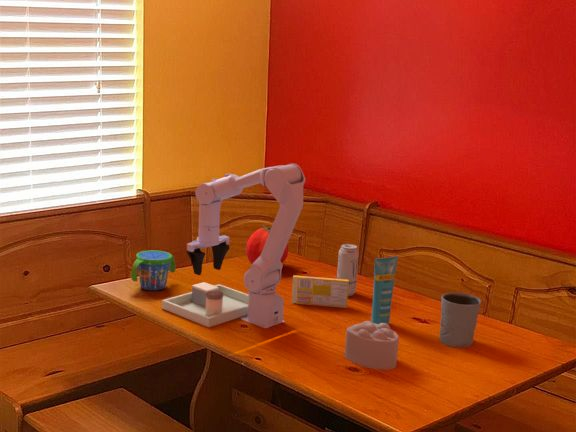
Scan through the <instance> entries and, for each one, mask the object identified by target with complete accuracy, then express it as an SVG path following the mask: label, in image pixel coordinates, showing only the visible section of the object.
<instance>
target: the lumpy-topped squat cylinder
mask: <svg viewBox="0 0 576 432" xmlns="http://www.w3.org/2000/svg"><path fill="white" fill-rule="evenodd" d="M345 334H346V335H345V348H344V357H345V359H347V360H349V361H350V362H352V363H354V364H357V365H358V366H360V367H365V368H369V369H375V370H392V369H395V368H396V367H397V362H398V361H397V360H398V351H399V342H400V341H399V340H400V337H399V334H397V332H396V331H394V330H393V329H391V326H390V325H388V324H386V323H380V324H379V325H378V324H375V323H372V322H371V320H365V321H363V322H360V323H356V324H353V325H351V326H348V327H347V328H346V333H345Z"/></svg>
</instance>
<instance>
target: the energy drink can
mask: <svg viewBox="0 0 576 432" xmlns="http://www.w3.org/2000/svg"><path fill="white" fill-rule="evenodd" d="M359 255H360V252H359V250H358V246H357V245H356V244H352V243H343V244H341V246H340V248H339V250H338V258H337V273H336V279H346V280H349V286H348V297H351V296H354V295H355V293H356V291H357V281H358V280H357V279H358V270H359V269H358V267H359Z"/></svg>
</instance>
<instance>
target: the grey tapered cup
mask: <svg viewBox="0 0 576 432" xmlns="http://www.w3.org/2000/svg"><path fill="white" fill-rule="evenodd" d="M440 303H441V307H440V313H441V316H440V327H439V328H440V329H439V342H440V343H442V344H443V343H444V345H445V344H446V345H445V346H448V345H449V346H448V347H451V346H453V347H452V348H458V347H463V348H469V347H471V346H472V345H473V340H474V336H475V331H476V326H477V321H478V318H479V313H480V309H481V304H482V300H481V299H480V298H479V297H477V296H475V295H471V294H469V293H462V292H447V293H444V294H442V295H441V301H440ZM468 346H469V347H468ZM463 348H462V349H463Z"/></svg>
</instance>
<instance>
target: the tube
mask: <svg viewBox="0 0 576 432" xmlns="http://www.w3.org/2000/svg"><path fill="white" fill-rule="evenodd" d="M398 257H399V255H396V256H388V257H380V258H378V257H377V258H374V271H373V272H374V273H373V274H374V276H373V289H372V292H373V293H372V305H371V306H372V307H371V320H370V322H372V323H375V324H378V325H379V324H380V323H386V324H388V325H389V324H390V319H391V317H390V316H391V308H392V301H393V295H394V287H395V278H396V272H397V265H398V259H399V258H398ZM389 326H390V325H389Z"/></svg>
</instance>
